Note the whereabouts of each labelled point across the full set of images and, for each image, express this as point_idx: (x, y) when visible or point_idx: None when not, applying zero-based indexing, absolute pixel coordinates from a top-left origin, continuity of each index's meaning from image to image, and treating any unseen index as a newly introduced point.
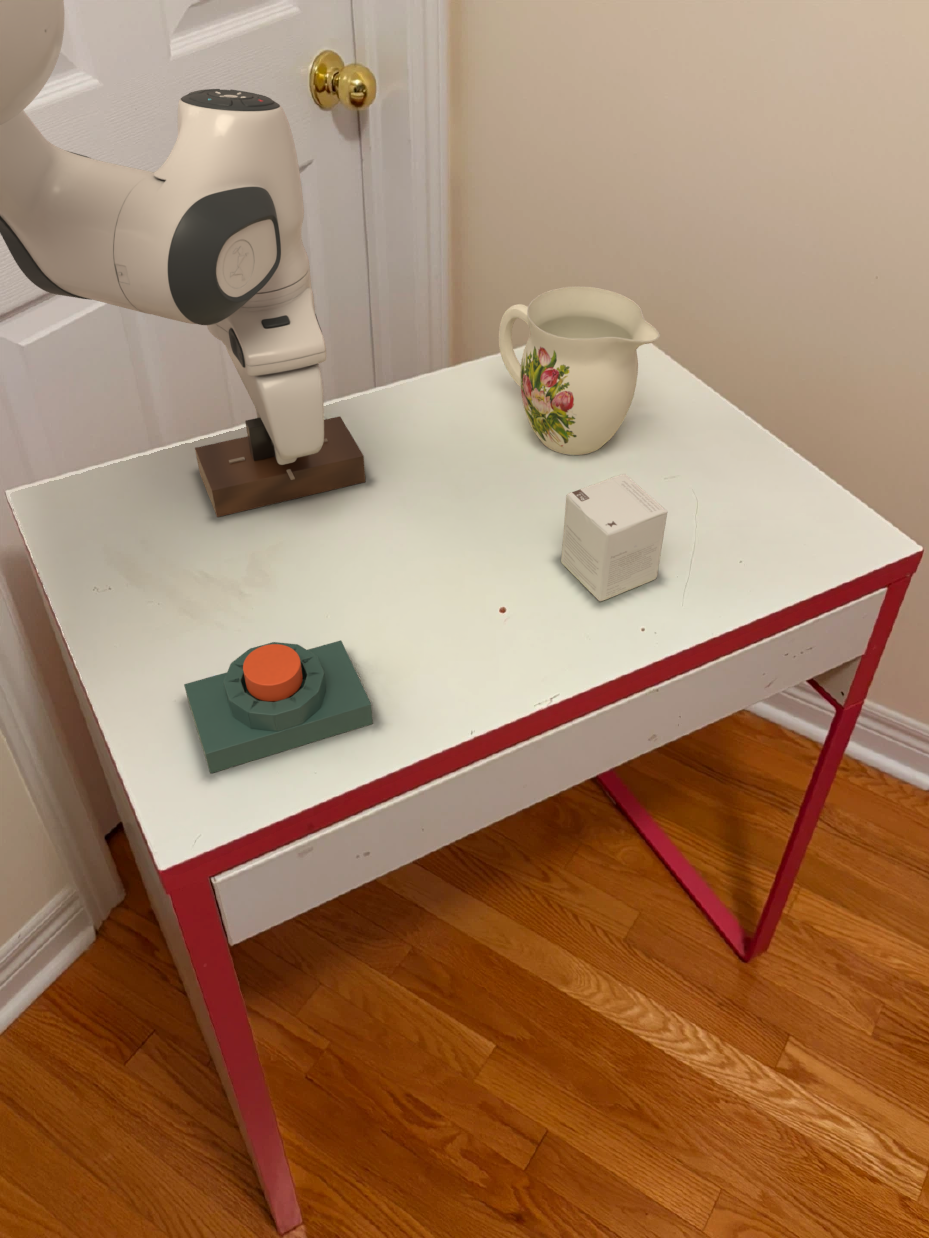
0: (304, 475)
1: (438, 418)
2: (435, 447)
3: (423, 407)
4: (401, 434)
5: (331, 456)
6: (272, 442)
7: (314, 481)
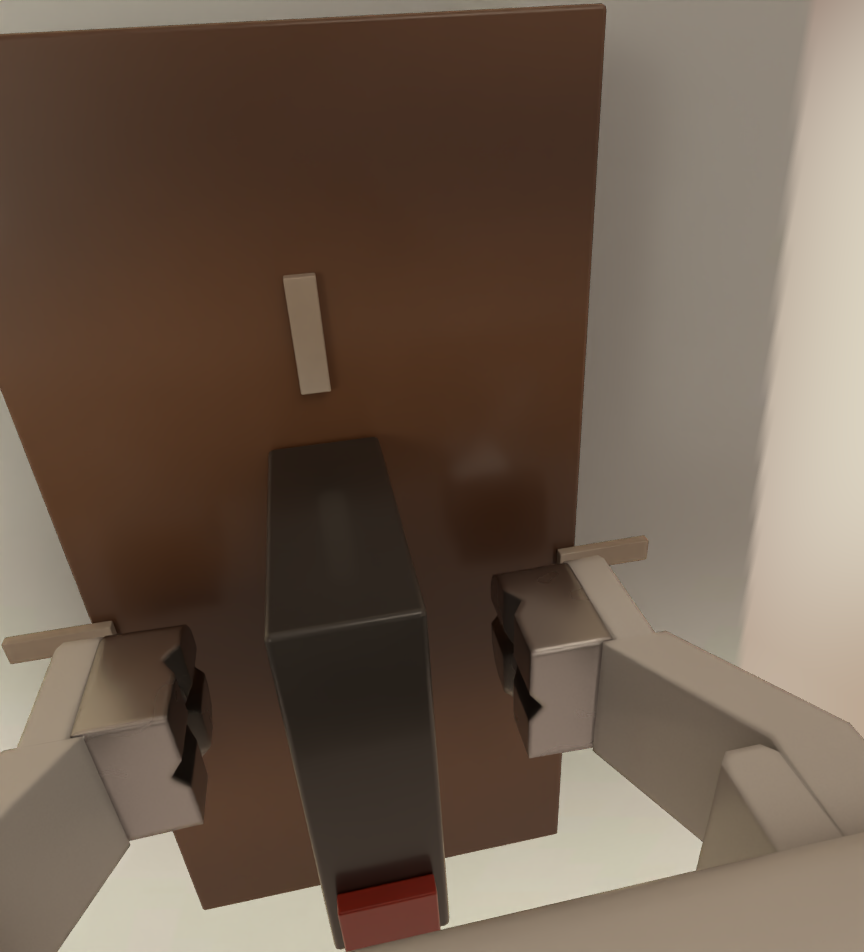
0: None
1: None
2: None
3: None
4: (484, 867)
5: (224, 811)
6: (136, 724)
7: None
